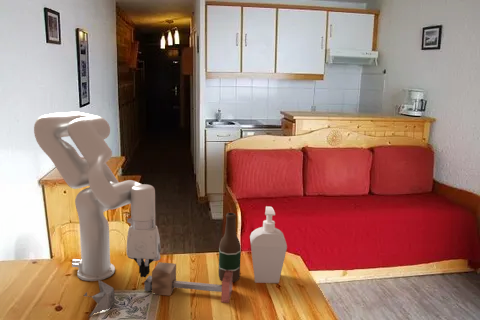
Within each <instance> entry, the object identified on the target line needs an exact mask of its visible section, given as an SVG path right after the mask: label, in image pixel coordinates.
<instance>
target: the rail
mask: <svg viewBox="0 0 480 320" xmlns="http://www.w3.org/2000/svg"><path fill="white" fill-rule="evenodd" d="M232 279H233V271H230V270H226V271H225V274H224V277H223V280H222V281H221V284H215V283H207V282H206V283H204V282H195V281H194V282H193V281H184V280H182V281H181V280H176V281H174V280H173V281H172V287H174V289H187V290H195V291H196V290H198V291H206V292H207V291H208V292H217V293H221V299H220V300H221V301H220V302H221V303H223V304H224V303H225V304H226V303H227V304H229V303H230V300H231V296H232V292H233V282H232ZM143 286H144V292H145V291H151V290H152V275H147V277H146V279H145V280H144V285H143ZM151 292H152V291H151Z"/></svg>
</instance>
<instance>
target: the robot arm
mask: <svg viewBox="0 0 480 320" xmlns="http://www.w3.org/2000/svg"><path fill="white" fill-rule="evenodd" d="M33 133H34V137H35V141H36V143H37V144H38V146H39V148H40V149H41V150H42V151H43V152H44V153H45V154H46V156H48V157H49V159H50V160H51V162H52V163H53V165H54V167H55V168H56V170H57V172H58V173H59V174H60V176H61V177H62V179H63V180H64V182H65V183H66V184H67V185H68V187H70V188H71V189H74V190H75V189H77V190H78V189H82V188H84V189H82V190H81V191H79V192H78V193H77V194H76V196H75V200H74V204H75V205H74V206H75V209H76V213H77V217H78V223H79V235H80V237H79V238H80V254H81V255H80V257H81V258H80V259H79V258H73V259H72V261H71V267H72V268H77V269H78V270H77V278H78V279H80V280H82V281H85V282H95V281H96V282H97V281H98V279H99V280H100V281H102V280H105V279H107V278H110V277H111V276H113V275H114V273H115V271H116V267H115V265H114V264H112V263H111V250H110V249H111V248H110V247H111V246H110V245H111V244H110V243H111V242H110V226H109V221H108V219H107V218H106V216H105V214H104V212H106V211H109V210H115V209H119V208H122V207H123V206H126V205H130V215H131V217H130V218H127V222H126V223H129V224H130V226H129V227H128V230H127V238H126V256H127V258H128V259H131V260H134V261H135V262H136V263H137V266H138V272H139V274H140V276H139V277H140V278H147V277H148V276H149V275H150V265H151V263H153V262H159V261H160V259H161V254H160V252H161V239H160V234H159V228H158V226H157V225H156V189H155V187H154V186H153V185H151V184H147V183H146V184H145V183H144V184H142V183H140V182H139V181H136V180H132V179H128V180H127V179H126V180H124V181H120V182H119V180H118V179H117V177H116V176H115V175H114V173H113V171H112V170H111V168H110V167H109V165H108V162H109V160H111V158H112V156H113V151H112V150H111V148H110V147H109V145H108V144H107V141H106V139H107V138H108V137H109V136H110V134H111V127H110V124H109V123H108V121H107V120H106V119H105V118H104V117H102V116H100V115H95V114H91V113H85V112H80V111H68V112H66V111H65V112H54V113H49V114H44V115H41V116H39V117H38V118H37V119H36V120H35V123H34V126H33ZM65 137H70V139H71V141H72V142H73V143H74V145H75V146H76V148H77V149H78V151H79V153H80V154H81V155H82V157H83V158H82V157H81V156H80V154H79V153H78V152H77V150H76V148H75V147H74V146H73V145H72V144H70V143H69V142H67V141H65V140H64V139H63V138H65ZM85 187H86V188H85Z"/></svg>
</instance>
